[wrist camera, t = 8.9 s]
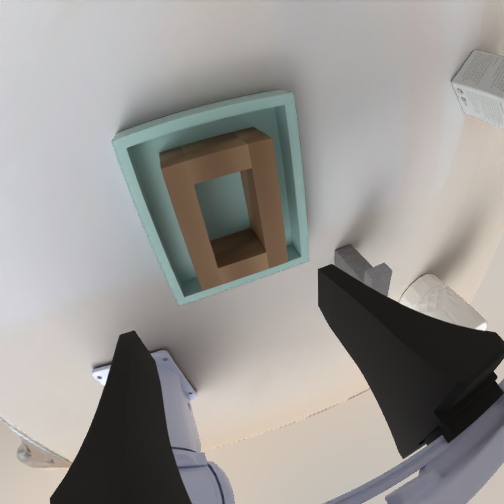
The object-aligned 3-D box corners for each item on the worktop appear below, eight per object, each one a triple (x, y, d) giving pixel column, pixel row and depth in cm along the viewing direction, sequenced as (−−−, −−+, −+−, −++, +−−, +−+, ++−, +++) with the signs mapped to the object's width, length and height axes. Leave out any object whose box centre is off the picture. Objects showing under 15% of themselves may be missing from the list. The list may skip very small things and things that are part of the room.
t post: (350, 269, 27) (384, 308, 23) (333, 275, 27) (366, 317, 22) (352, 231, 24) (392, 270, 20) (333, 238, 24) (372, 279, 20)
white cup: (446, 270, 34) (495, 318, 26) (416, 315, 38) (458, 365, 30) (415, 267, 31) (473, 325, 23) (383, 319, 35) (429, 378, 27)
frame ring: (253, 126, 17) (272, 138, 14) (271, 237, 21) (288, 262, 19) (158, 152, 16) (160, 169, 13) (194, 262, 21) (202, 291, 18)
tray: (297, 245, 23) (309, 260, 22) (175, 286, 22) (178, 305, 20) (278, 89, 16) (293, 92, 15) (115, 133, 15) (111, 141, 13)
